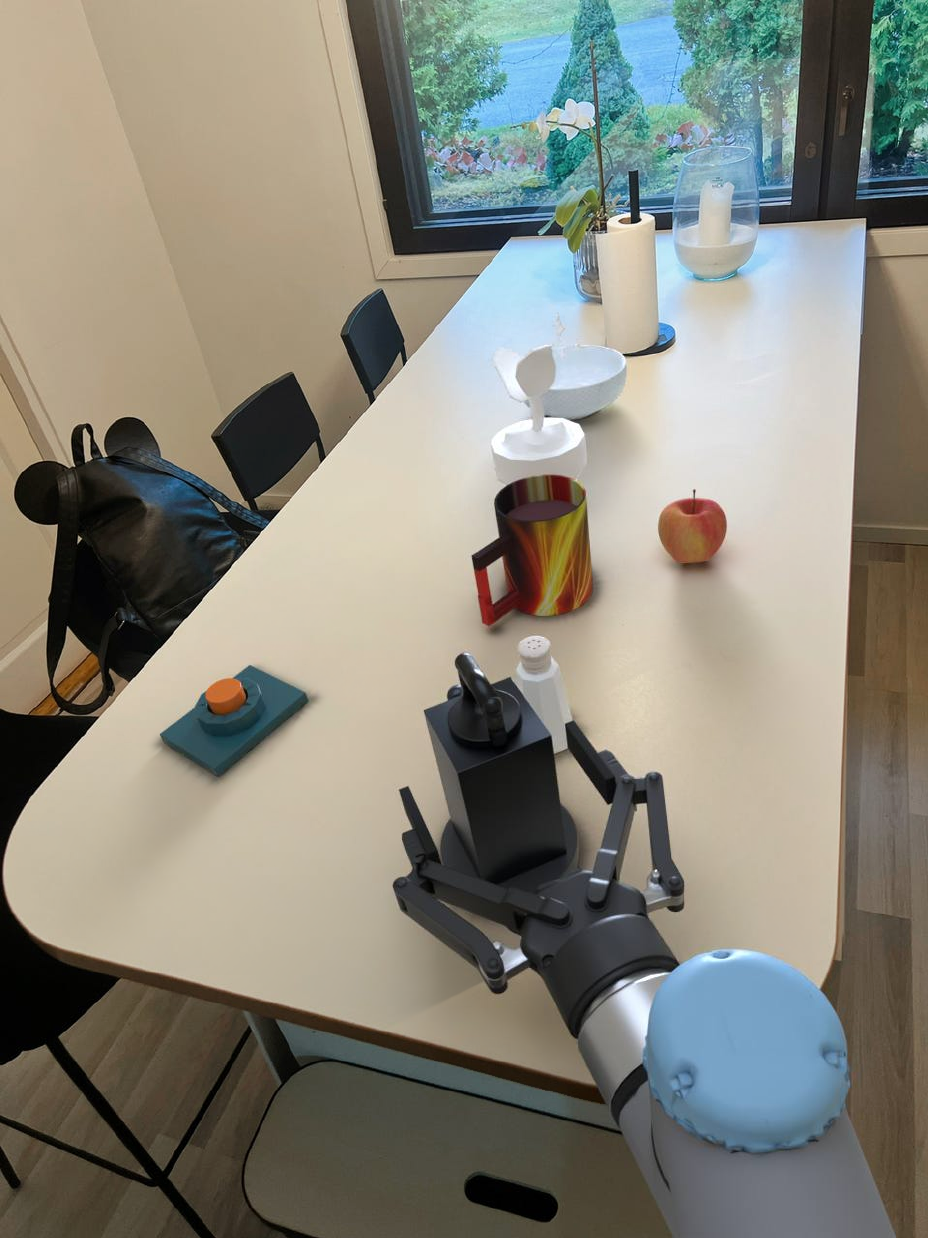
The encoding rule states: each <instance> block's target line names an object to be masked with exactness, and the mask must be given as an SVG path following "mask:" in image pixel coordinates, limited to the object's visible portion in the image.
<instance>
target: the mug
mask: <svg viewBox="0 0 928 1238" xmlns="http://www.w3.org/2000/svg"><path fill="white" fill-rule="evenodd" d="M493 506H494V513H495V519H496V526H497V531H498V532H497V533H498V537H497V538H496V539H494V540H493V541H491V542H490V543H489V544H487V545H486V546H483V548H481V549H479V550H478V551H476V552H475V553H473V554H471V562H472V567H473V574H474V578H475V584H476V589H477V600H478V606H479V611H480V617H481V623H482V624H483V625H485V626H486V627H489V628H490V627H491V626H493V625H494V624H495V623H496V622H498V621H499V620H500V619H502V618H503V617H505V616H506V615H507V614H509V613H510V612H511V611H513V610H514V609H516V610H519V611H520V612H522V613H524V614H527V615H532V616H538V617H552V616H553V617H554V616H559V615H563V614H566V613H570V612H572V611H574V610H576V609H579V608H580V607H581V606H583V605H584V604H585V603H587V602H588V601H589V600H590V598H591V596H592V594H593V591H594V579H593V569H592V567H593V566H592V555H591V554H592V553H591V541H590V527H589V526H590V525H589V514H588V502H587V491H586V488H585V486H584V484H582V483H581V482H580V481H578V480H575V479H572V478H570V477H566V476H562V475H535V476H530V477H526V478H522V479H519V480H517V481H514V482H512V483H510V484H508V485H507V484H506V485H505V486H504V487H503V488H501V489H500V490H499V491H498V493H496V495H495V497H494V500H493ZM499 559H502V565H503V573H504V578H505V585H506V586H505V587H506V592H507V593H506V594H505V595H503V596H502V597H500V598H499V599H497V601H495V602H493V599H492V593H491V586H490V580H489V575H488V567H489V566H490V565H492V564H494V563H495V562H496V561H498V560H499Z"/></svg>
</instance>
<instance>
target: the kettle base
mask: <svg viewBox="0 0 928 1238" xmlns="http://www.w3.org/2000/svg"><path fill="white" fill-rule="evenodd" d="M560 804H561V811H562V819H563V826H564V834H565V842H566V849H567V854H564V855H562V856H560V857H557V858H555V859H553V860H551V861H548V862H546V863H544V864H541V865H539V866H537V867H535V868H532V869H530V870H528V871H525V872H523V873H521V874H518V875H516V876H514V877H512V878H509V879H507V880H505V881H502V882H500V883H498V884H496V885H499V886H501V887H504V888H507V889H510V888H511V887H516V888H519V889H521V890H524V891H527V892H530V893H532V894H533V893H534V892H535V891H536V890H538V889H537V886H538V885H540V884H542V883H545V882H547V881H551V880H557V879H560V878H562V877H563V876H564V875H566V874H567V873H568V872H570V871H572V870H574V869H577V868H578V867H579V866H578V865H579V862H580V845H579V836H578V835H579V834H578V829H577V826H576V823H575V820H574V818H573V816H572V815H571V813H570V812H569V810H568V809H567V808H566V807H565V806H564V805H563V804H562V802H560ZM443 828H444V829H443V831H442V833H441V838H440V845H439V850H440V859H441V863H442V865H444V866H447V867H450V868H453V869H455V870H458V871H461V872H463V873H466V874H469V875H472V876H474V877H477V878H478V876H477V874H476V872H475V870H474V868H473V866H472V864H471V862H470V860H469V858H468V856H467V853H466V851H465V849H464V847H463V845H462V843H461V841H460V839H459V837H458V835H457V833H456V831H455V829H454V827H453V825H452V822H451V818H450V817H449V819H448V820H447V822H446V824H445V826H444V827H443Z"/></svg>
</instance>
